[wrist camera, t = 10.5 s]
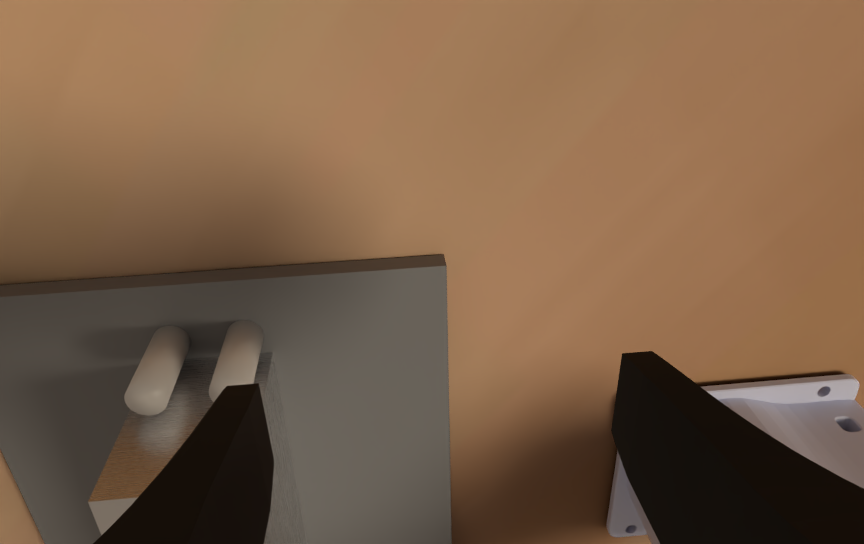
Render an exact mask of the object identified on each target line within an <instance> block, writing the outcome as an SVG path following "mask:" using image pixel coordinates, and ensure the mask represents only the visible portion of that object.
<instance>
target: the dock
mask: <svg viewBox="0 0 864 544" xmlns="http://www.w3.org/2000/svg"><path fill="white" fill-rule="evenodd" d="M267 352H273V356H274V361H275V367H276V372H277V378H278V384H279V389H280V395H281V400H282V406H283V412H284V417H285V423H286V428H287V434H288V440H289V445H290V451H291V456H292V462H293V468H294V473H295V479H296V484H297V490H298V496H299V501H300V507H301V512H302V518H303V524H304V529H305V535H306V540H307V544H452V537H451V484H450V431H449V378H448V325H447V272H446V262H445V258H444V254H443V255H429V256H414V257H400V258H385V259H371V260H356V261H342V262H327V263H313V264H299V265H284V266H270V267H255V268H241V269H226V270H212V271H197V272H183V273H168V274H154V275H140V276H125V277H111V278H96V279H82V280H67V281H53V282H38V283H24V284H9V285H0V449H1V451H2V453H3V455H4V458H5V460H6V462H7V464H8V466H9V468H10V470H11V473H12V475H13V477H14V479H15V481H16V483H17V485H18V487H19V490H20V492H21V494H22V496H23V498H24V500H25V502H26V504H27V507H28V509H29V511H30V513H31V515H32V517H33V519H34V521H35V524H36V526H37V528H38V530H39V532H40V534H41V536H42V539H43V541H44V543H45V544H93V543H94V542H95V541H96V540H97V539H98V538H99V537H100V536H101V533H100V531H99V528H98V526H97V523H96V521H95V518H94V516H93V513H92V511H91V508H90V506H89V503H88V501H89V499H90V497H91V494H92V492H93V490H94V488H95V486H96V483H97V481H98V479H99V477H100V475H101V473H102V470H103V468H104V466H105V464H106V462H107V460H108V457H109V455H110V453H111V451H112V449H113V446H114V444H115V442H116V440H117V438H118V436H119V433H120V431H121V429H122V427H123V425H124V422H125V420H126V418H127V416H128V414H129V412H130V409H131V410H132V411H134V412H136V413H138V414H141V415H147V416H150V415H156V414H159V413H161V412H162V411H163V410H164V409H165V408H166V406H167V404H168V401H169V399H170V396H171V394H172V391H173V389H174V386H175V383H176V381H177V378H178V376H179V373H180V371H181V368H182V365H183V363H184V360H185V359H190V358H203V357H216V356H219V358H218V362H217V365H216V368H215V371H214V374H213V377H212V381H211V384H210V387H209V396H210V398H211V400H212V401H213V402H214V401H215V400H216V399H217V397H218V396H219V395H220V393H221V392H222V391H223V389H224V388H225V387H226V386H231V385H243V384H253V383H254V378H255V374H256V369H257V365H258V360H259V356H260V353H267Z"/></svg>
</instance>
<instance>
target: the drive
mask: <svg viewBox="0 0 864 544" xmlns="http://www.w3.org/2000/svg"><path fill="white" fill-rule="evenodd" d="M218 358H219V356H216V357H203V358H190V359H185V360H184V363H183V365H182V368H181V371H180V373H179V376H178V378H177V381H176V383H175V386H174V389H173V391H172V394H171V396H170V399H169V401H168V404H167V406H166V408H165V409H164V410H163V411H162V412H161V413H159V414H156V415H150V416H147V415H141V414H138V413H136V412H134V411H132V410H131V409H130V412H129V414H128V416H127V418H126V420H125V422H124V425H123V427H122V429H121V431H120V433H119V436H118V438H117V440H116V442H115V444H114V446H113V449H112V451H111V453H110V455H109V457H108V460H107V462H106V464H105V466H104V468H103V470H102V473H101V475H100V477H99V479H98V481H97V483H96V486H95V488H94V490H93V492H92V494H91V497H90V499H89V501H88V503H89V506H90V508H91V511H92V513H93V516H94V518H95V521H96V523H97V526H98V528H99V531H100V533H101V535H102V534H103V533H104V532H106V531H107V530H108V529H109V528H110V527H111V526H112V525H113V524H114V523H115V521H116V520H117V519H118V518H119V517H120V516H121V515H122V514H123V513H124V512H125V511H126V510H127V509H128V508H129V507H130V506H131V505H132V504H133V503H134V501H135V500H136V499H137V498H138V497H139V496H140V495H141V493H142V492H143V491H144V490H145V489H146V488H147V487H148V485H149V484H150V483H151V482H152V481H153V480H154V479H155V477H156V476H157V475H158V474H159V473H160V472H161V471H162V469H163V468H164V467H165V466H166V465H167V463H168V462H169V461H170V460H171V458H172V457H173V456H174V454H175V453H176V452H177V451H178V449H179V448H180V447H181V446H182V444H183V443H184V442H185V441H186V439H187V438H188V437H189V435H190V434H191V433H192V431H193V430H194V429H195V427H196V426H197V425H198V423H199V422H200V421H201V419H202V418H203V417H204V415H205V414H206V413H207V411H208V410H209V408H210V407H211V406H212V404H213V403H214V402H213V401H212V400H211V398H210V396H209V387H210V384H211V381H212V377H213V374H214V371H215V368H216V365H217V362H218ZM255 383H259V386H260V392H261V397H262V402H263V407H264V412H265V417H266V422H267V427H268V432H269V437H270V442H271V447H272V452H273V457H274V472H273V486H272V497H271V509H270V515H269V520H268V525H267V530H266V535H265V540H264V544H307V540H306V535H305V529H304V524H303V518H302V512H301V507H300V501H299V496H298V490H297V484H296V479H295V473H294V468H293V462H292V456H291V451H290V445H289V440H288V434H287V428H286V423H285V417H284V412H283V406H282V400H281V395H280V389H279V384H278V378H277V372H276V367H275V361H274V356H273V352H267V353H260V356H259V360H258V365H257V369H256V374H255V378H254V383H253V384H255Z"/></svg>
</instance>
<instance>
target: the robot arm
mask: <svg viewBox="0 0 864 544" xmlns="http://www.w3.org/2000/svg"><path fill="white" fill-rule="evenodd" d="M819 389H820V390H819ZM858 389H859V382H858V380H856V379H855V378H854V377H853V376H852V375H850V374H842V375H830V376H818V377H807V378H795V379H783V380H772V381H760V382H749V383H737V384H725V385H714V386H702V387H700V386H699V385H697V384H696V383H695V382H693V381H692V380H691V379H689V378H688V377H687V376H685V375H684V374H683V373H681V372H680V371H679V370H677V369H676V368H675V367H673V366H672V365H671V364H669V363H668V362H666V361H665V360H664V359H662V358H661V357H660V356H658V355H657V354H655V353H654V352H652V351H648V352H635V353H623V354H622V359H621V366H620V373H619V380H618V387H617V394H616V401H615V409H614V416H613V423H612V430H611V431H612V434H613V437H614V441H615V444H616V447H617V450H618V451H617V457H616V464H615V471H614V477H613V484H612V491H611V498H610V504H609V511H608V518H607V524H606V526H607V530H608V532H609V534H610V535H611V536H613V537H627V536H637V535H646V534H647V535H648V537H649V539H650V541H651V543H652V544H864V409H863V408H862V407H861V406H860V405H859V404H858V403H857V402H856V401H855V397H856V394H857V392H858ZM273 472H274V457H273V452H272V447H271V442H270V437H269V432H268V427H267V422H266V417H265V412H264V407H263V402H262V397H261V392H260V386H259V383H255V384H243V385H231V386H226V387H225V388H224V389H223V391H222V392H221V393H220V395H219V396H218V397H217V399H216V400H215V401H214V403H213V404H212V406H211V407H210V408H209V410H208V411H207V413H206V414H205V415H204V417H203V418H202V419H201V421H200V422H199V423H198V425H197V426H196V427H195V429H194V430H193V431H192V433H191V434H190V435H189V437H188V438H187V439H186V441H185V442H184V443H183V444H182V446H181V447H180V448H179V449H178V451H177V452H176V453H175V454H174V456H173V457H172V458H171V460H170V461H169V462H168V463H167V465H166V466H165V467H164V468H163V469H162V471H161V472H160V473H159V474H158V475H157V476H156V477H155V479H154V480H153V481H152V482H151V483H150V484H149V485H148V487H147V488H146V489H145V490H144V491H143V492H142V493H141V495H140V496H139V497H138V498H137V499H136V500H135V501H134V503H133V504H132V505H131V506H130V507H129V508H128V509H127V510H126V511H125V512H124V513H123V514H122V515H121V516H120V517H119V518H118V519H117V520H116V521H115V523H114V524H113V525H112V526H111V527H110V528H109V529H108V530H107V531H106V532H104V533H103V534H102V535H101V536H100V537H99V538H98V539H97V540H96V541H95V542H94V543H93V544H264V540H265V535H266V530H267V525H268V520H269V515H270V509H271V497H272V486H273Z"/></svg>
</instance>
